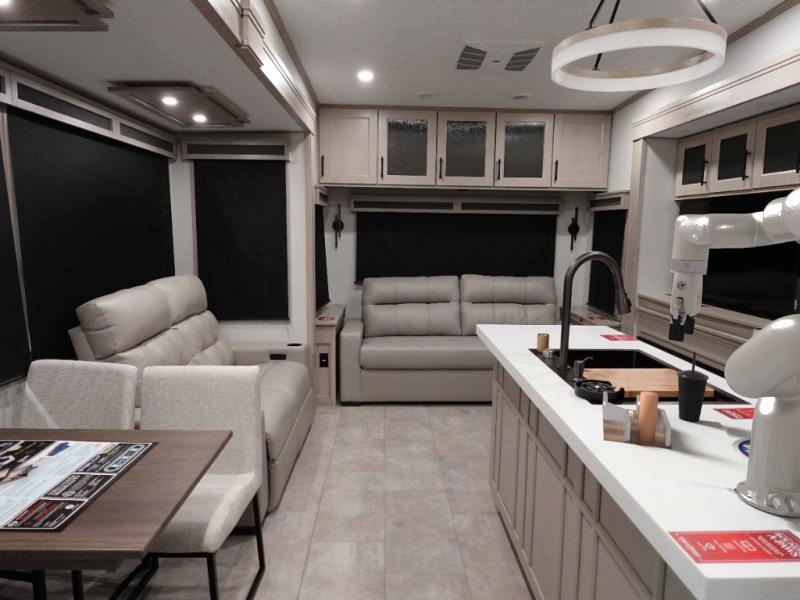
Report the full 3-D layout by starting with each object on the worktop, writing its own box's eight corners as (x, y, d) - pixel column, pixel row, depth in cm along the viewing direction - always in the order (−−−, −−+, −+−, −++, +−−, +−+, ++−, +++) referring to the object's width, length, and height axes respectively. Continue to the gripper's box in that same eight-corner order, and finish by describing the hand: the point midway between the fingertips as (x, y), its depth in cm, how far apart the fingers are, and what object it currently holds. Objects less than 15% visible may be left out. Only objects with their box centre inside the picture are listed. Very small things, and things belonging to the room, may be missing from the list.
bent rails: (669, 447, 126) (671, 427, 125) (603, 438, 131) (604, 419, 130) (658, 414, 148) (660, 397, 147) (602, 407, 153) (603, 391, 152)
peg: (655, 444, 128) (659, 397, 126) (637, 441, 129) (641, 395, 127) (653, 437, 131) (657, 392, 130) (636, 435, 133) (640, 390, 131)
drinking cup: (669, 422, 145) (675, 352, 142) (678, 415, 150) (683, 347, 147) (699, 429, 139) (706, 357, 136) (707, 422, 145) (714, 352, 142)
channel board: (672, 453, 125) (672, 449, 125) (603, 443, 130) (603, 439, 130) (660, 416, 149) (660, 412, 149) (602, 409, 154) (602, 406, 154)
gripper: (698, 271, 114) (689, 346, 117) (714, 265, 127) (706, 333, 130) (661, 268, 119) (654, 341, 122) (680, 263, 132) (673, 328, 135)
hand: (681, 337), depth 126 cm, fingers open, 9 cm apart
